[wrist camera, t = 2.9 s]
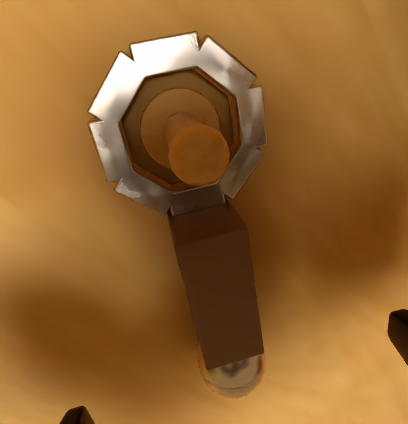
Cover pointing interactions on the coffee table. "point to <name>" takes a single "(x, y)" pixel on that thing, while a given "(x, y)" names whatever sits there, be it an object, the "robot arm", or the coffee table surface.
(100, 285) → the coffee table surface
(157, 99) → the peg
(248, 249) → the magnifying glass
